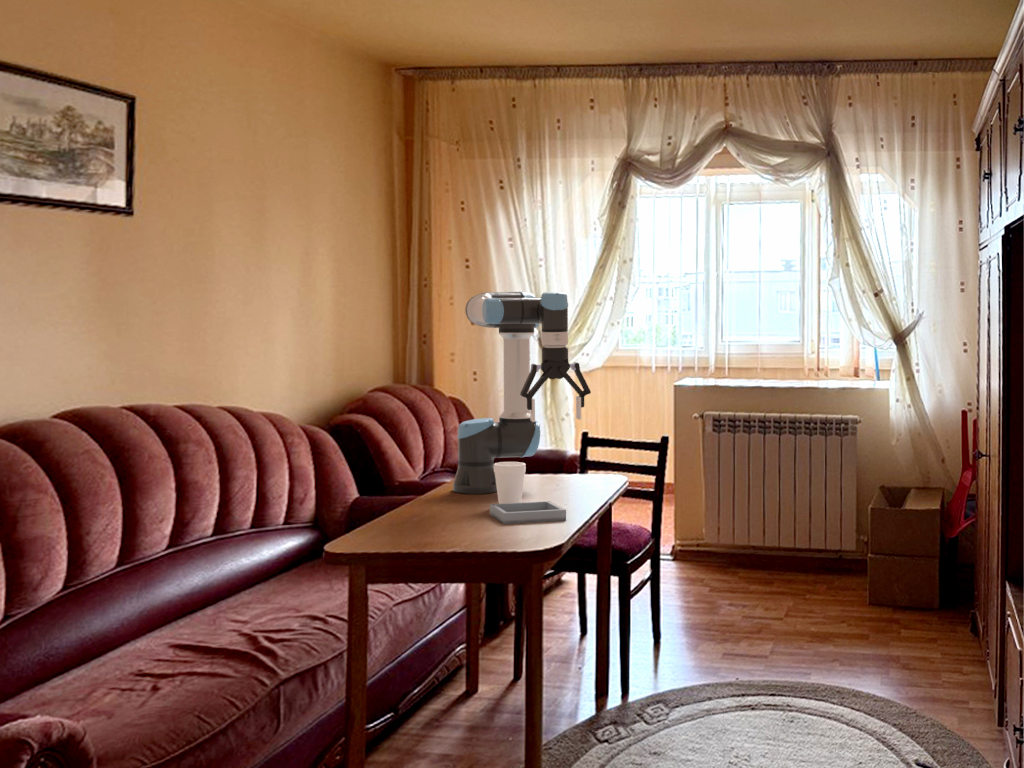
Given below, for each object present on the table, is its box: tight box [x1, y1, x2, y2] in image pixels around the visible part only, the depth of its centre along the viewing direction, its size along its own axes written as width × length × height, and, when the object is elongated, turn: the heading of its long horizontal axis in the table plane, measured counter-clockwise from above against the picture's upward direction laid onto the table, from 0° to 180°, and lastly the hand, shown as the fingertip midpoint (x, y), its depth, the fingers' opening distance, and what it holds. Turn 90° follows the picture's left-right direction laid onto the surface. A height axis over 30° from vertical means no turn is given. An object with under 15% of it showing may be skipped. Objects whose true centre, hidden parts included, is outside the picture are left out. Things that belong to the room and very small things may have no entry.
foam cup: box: [494, 461, 527, 504], centre depth 340 cm, size 10×9×13 cm
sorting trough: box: [489, 500, 567, 525], centre depth 323 cm, size 15×18×3 cm
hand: (555, 420), depth 327 cm, fingers open, 13 cm apart
